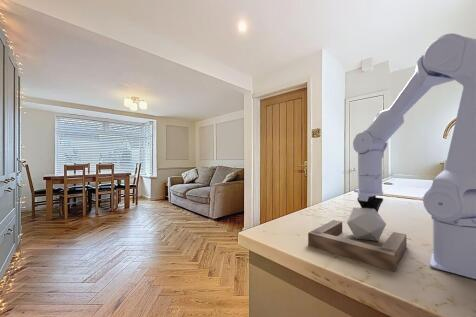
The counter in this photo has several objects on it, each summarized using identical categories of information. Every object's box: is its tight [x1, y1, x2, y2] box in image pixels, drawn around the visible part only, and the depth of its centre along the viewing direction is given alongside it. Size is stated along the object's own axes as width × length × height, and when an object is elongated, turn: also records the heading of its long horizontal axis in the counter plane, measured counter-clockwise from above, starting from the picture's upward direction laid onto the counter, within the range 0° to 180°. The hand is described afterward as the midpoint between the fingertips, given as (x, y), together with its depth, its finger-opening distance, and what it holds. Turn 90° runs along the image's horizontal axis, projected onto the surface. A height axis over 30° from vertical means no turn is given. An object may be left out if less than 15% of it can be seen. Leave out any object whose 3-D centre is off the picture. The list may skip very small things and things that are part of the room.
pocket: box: [307, 219, 408, 272], centre depth 50 cm, size 17×16×3 cm
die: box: [346, 206, 387, 242], centre depth 55 cm, size 8×9×10 cm
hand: (370, 223), depth 58 cm, fingers closed
